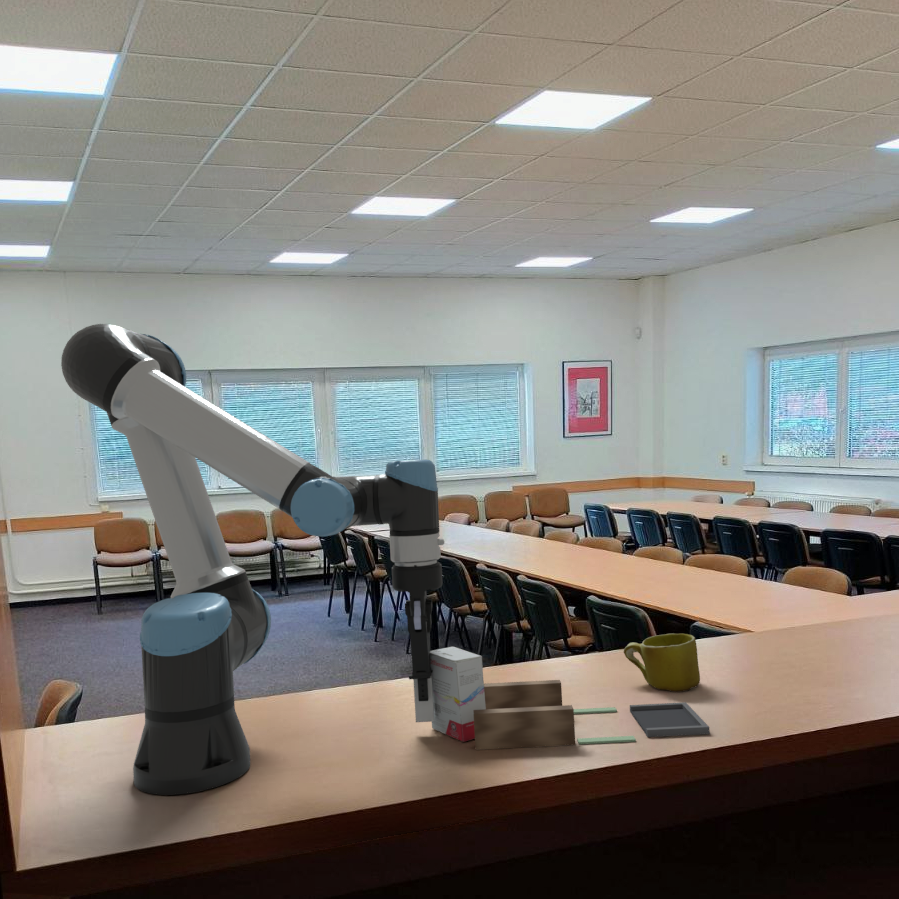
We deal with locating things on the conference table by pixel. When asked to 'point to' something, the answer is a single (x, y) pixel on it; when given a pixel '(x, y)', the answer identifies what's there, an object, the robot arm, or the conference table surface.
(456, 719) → the ink box
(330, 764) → the conference table surface
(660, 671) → the mug
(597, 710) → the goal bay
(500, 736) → the tunnel walls
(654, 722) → the grey flat tray
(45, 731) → the conference table surface
